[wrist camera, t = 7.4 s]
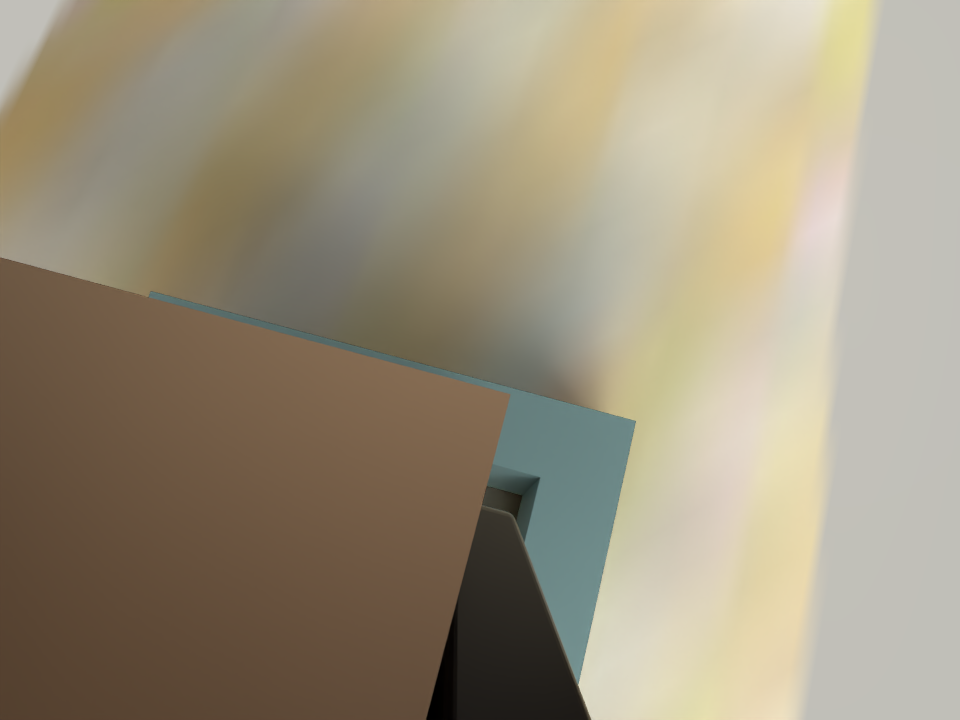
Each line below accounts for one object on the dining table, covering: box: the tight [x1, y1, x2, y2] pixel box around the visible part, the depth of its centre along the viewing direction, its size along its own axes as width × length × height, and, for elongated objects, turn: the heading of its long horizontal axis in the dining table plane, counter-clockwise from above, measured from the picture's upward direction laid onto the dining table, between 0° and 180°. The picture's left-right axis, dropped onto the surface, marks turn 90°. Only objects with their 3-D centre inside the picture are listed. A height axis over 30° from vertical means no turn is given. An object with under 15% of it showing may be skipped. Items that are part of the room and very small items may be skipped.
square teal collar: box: [149, 291, 636, 684], centre depth 14 cm, size 8×8×3 cm
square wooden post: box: [0, 258, 511, 720], centre depth 8 cm, size 4×4×11 cm
